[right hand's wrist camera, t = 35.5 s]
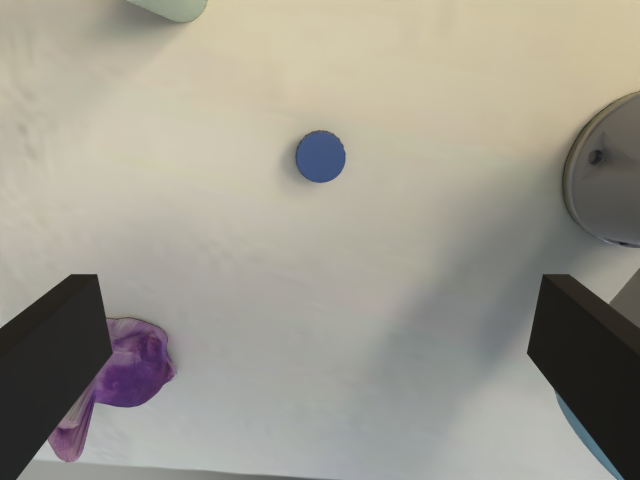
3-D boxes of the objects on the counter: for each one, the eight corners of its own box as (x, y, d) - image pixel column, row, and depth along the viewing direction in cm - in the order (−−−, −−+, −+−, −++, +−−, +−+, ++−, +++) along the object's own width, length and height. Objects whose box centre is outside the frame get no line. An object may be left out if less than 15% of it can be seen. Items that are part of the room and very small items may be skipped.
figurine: (69, 324, 48) (-34, 424, 34) (151, 300, 47) (79, 393, 33) (108, 388, 51) (28, 504, 37) (186, 367, 50) (133, 478, 36)
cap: (302, 124, 40) (301, 126, 38) (350, 136, 41) (351, 139, 39) (292, 171, 42) (290, 176, 40) (337, 182, 42) (338, 188, 40)
